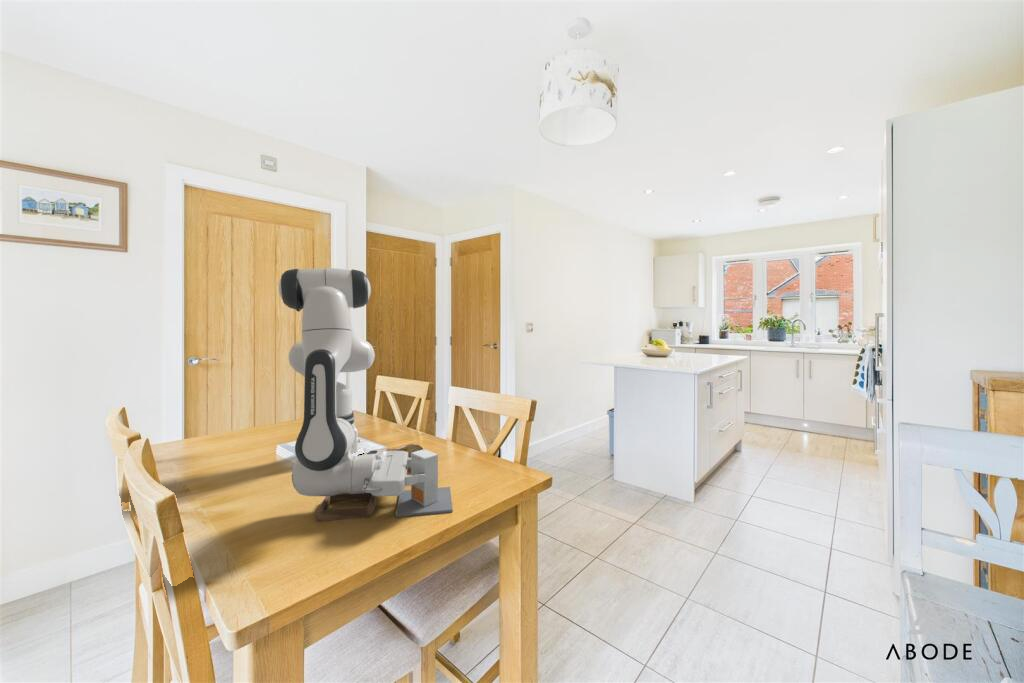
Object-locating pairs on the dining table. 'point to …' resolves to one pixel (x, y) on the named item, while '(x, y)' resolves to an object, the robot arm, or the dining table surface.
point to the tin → (409, 449)
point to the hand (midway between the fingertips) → (425, 469)
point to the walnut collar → (346, 513)
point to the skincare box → (428, 489)
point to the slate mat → (414, 508)
